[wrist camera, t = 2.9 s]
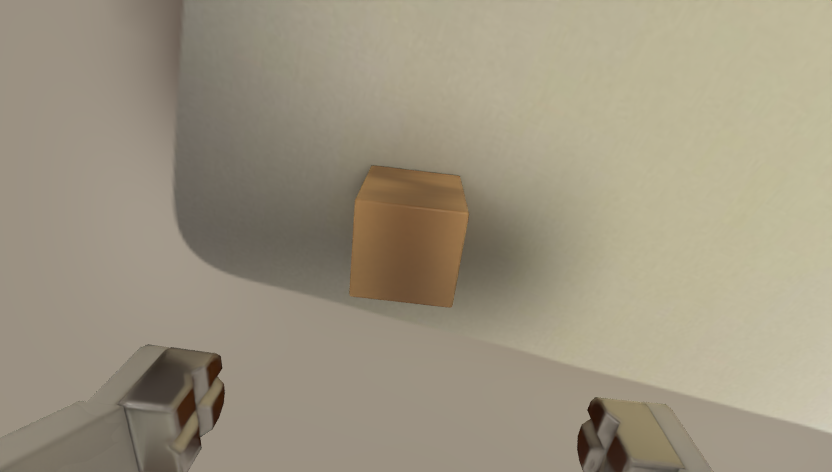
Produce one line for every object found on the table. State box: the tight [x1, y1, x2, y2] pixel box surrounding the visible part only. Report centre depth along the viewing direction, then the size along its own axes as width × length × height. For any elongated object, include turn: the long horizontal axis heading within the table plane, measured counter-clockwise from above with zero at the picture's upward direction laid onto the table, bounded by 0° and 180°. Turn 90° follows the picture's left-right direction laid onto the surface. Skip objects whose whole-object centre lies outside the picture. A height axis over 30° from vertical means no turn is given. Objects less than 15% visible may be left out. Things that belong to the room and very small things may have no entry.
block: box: [349, 166, 469, 307], centre depth 19 cm, size 4×4×5 cm
